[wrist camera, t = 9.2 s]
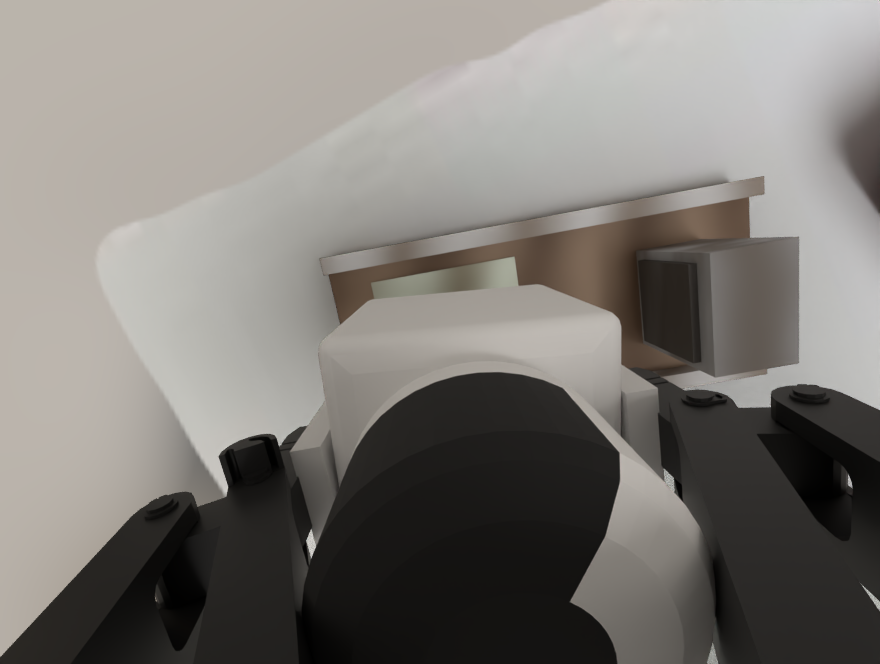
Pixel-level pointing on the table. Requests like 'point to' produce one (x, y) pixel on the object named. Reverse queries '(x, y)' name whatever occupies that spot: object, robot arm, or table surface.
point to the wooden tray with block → (622, 277)
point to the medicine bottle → (496, 494)
